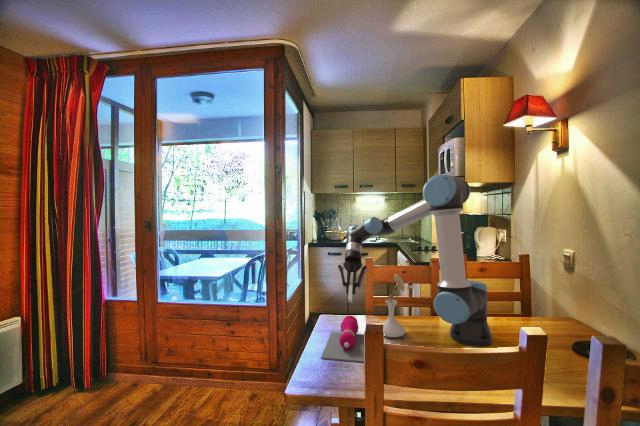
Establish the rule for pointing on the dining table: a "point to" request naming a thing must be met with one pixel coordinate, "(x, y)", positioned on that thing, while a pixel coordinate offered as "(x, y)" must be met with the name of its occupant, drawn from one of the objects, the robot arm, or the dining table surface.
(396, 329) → the flower in vase
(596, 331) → the dining table surface
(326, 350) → the mat
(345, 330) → the pepper mill
